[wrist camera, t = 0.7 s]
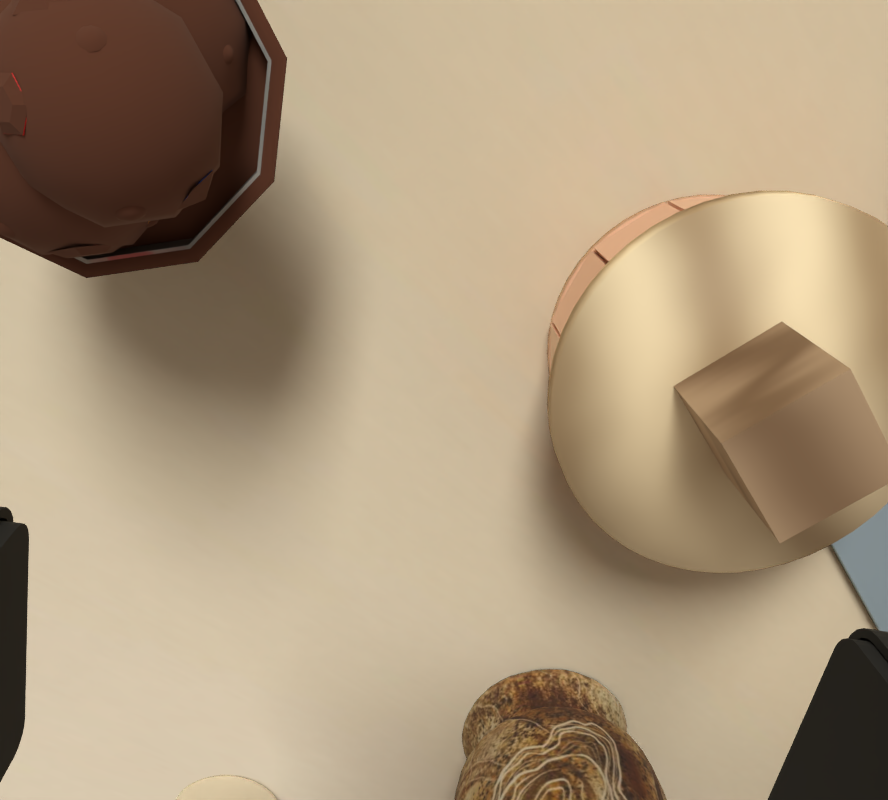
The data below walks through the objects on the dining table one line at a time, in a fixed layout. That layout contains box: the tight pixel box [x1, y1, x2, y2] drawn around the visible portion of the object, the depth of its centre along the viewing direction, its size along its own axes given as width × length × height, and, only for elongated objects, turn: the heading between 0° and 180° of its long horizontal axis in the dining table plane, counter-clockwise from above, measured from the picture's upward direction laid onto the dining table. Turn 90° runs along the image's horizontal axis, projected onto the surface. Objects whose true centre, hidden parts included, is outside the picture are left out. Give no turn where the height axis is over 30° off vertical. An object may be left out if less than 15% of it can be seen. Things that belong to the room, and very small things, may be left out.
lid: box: [547, 191, 888, 573], centre depth 30 cm, size 15×15×7 cm
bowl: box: [547, 195, 725, 374], centre depth 35 cm, size 13×13×6 cm
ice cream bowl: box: [0, 0, 287, 278], centre depth 26 cm, size 11×11×15 cm
